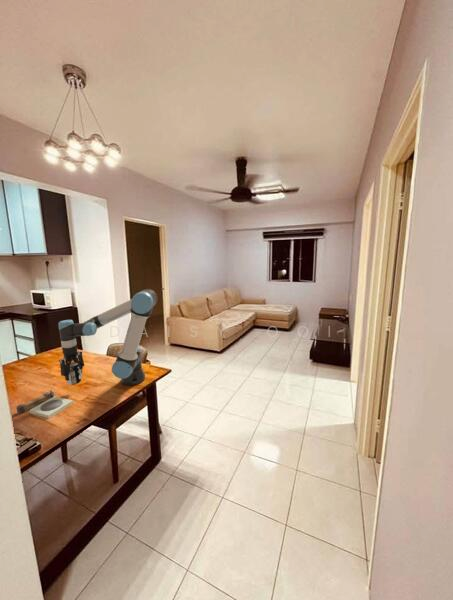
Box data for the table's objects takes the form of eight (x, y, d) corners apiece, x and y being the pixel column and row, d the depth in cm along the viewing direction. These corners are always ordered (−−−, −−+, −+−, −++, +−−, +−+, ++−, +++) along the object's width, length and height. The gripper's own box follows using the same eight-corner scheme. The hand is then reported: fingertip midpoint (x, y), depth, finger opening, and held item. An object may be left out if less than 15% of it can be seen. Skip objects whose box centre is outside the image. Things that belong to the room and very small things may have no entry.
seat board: (73, 403, 141) (72, 400, 141) (48, 418, 128) (48, 415, 128) (55, 398, 145) (54, 395, 145) (29, 413, 132) (29, 409, 132)
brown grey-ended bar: (48, 398, 146) (47, 392, 145) (51, 399, 144) (50, 393, 143) (17, 412, 133) (16, 405, 132) (20, 414, 131) (18, 407, 130)
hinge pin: (56, 397, 147) (55, 390, 146) (52, 399, 144) (51, 392, 144) (53, 396, 148) (52, 389, 147) (48, 398, 145) (47, 391, 144)
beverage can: (78, 378, 156) (76, 360, 153) (83, 381, 152) (80, 363, 149) (67, 383, 151) (64, 364, 149) (71, 386, 147) (68, 367, 144)
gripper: (78, 339, 157) (83, 373, 161) (48, 351, 139) (55, 389, 143) (88, 340, 155) (92, 374, 159) (58, 352, 137) (64, 391, 141)
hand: (75, 381), depth 151 cm, fingers closed on beverage can, 7 cm apart
